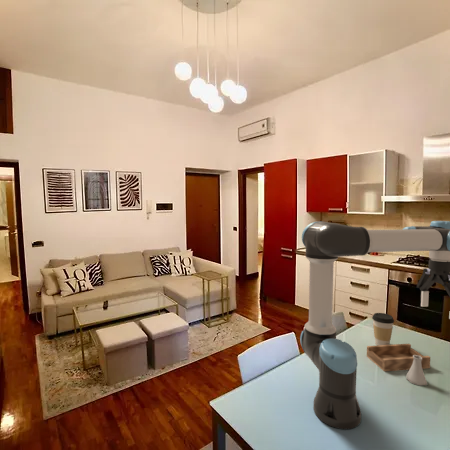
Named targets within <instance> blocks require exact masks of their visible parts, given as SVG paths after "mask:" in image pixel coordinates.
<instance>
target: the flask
mask: <svg viewBox="0 0 450 450" xmlns="http://www.w3.org/2000/svg"><path fill="white" fill-rule="evenodd" d="M413 358H414V360H413V364H412V366H411V368H410V370H408V371H407V373H406V375H405V378H406V380H407V381H409V382H410V384H413V385H416V386H420V387H421V386H428V381H427V379H426V376H425V373H424V369H422V365H421V360H422V357H421V356H418V355H413Z"/></svg>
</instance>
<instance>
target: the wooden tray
mask: <svg viewBox="0 0 450 450" xmlns="http://www.w3.org/2000/svg"><path fill="white" fill-rule="evenodd" d="M413 355H418V356H421V357H422V360H421V365H422V369H423V370H426V369H431V356H429V355H423V354H421V353H420V352H418V351H416V350H415V349H414V348H412V344H410V343H400V344H399V343H398V344H397V343H396V344H389V345H367V346H366V358H368V359H369V360H370V361H371V362H372V363H374V364H375V365H376V366H377V367H378V368H379V369H380V370H382V371H383V372H395V371H396V372H397V371H409V370H410V368H411V366H412V364H413V360H414V358H413Z"/></svg>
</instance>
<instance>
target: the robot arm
mask: <svg viewBox="0 0 450 450" xmlns="http://www.w3.org/2000/svg"><path fill="white" fill-rule="evenodd" d="M301 241H302V244H303V246H304V247H305V258H306V259H307V260H308V262H309V280H308V281H309V283H308V284H309V285H308V294H309V295H308V321H307V322H306V323H305V324H304V328H303V330H302V331H301V333H300V336H299V339H300V345H301V348H302V350H303V352H304V353H305V355H306V356H307V357H308V359H310V360H311V362H312V363H313V364H314V366H315V368H316V369H318V372H319V374H318V375H319V378H318V382H319V383H318V385H319V386H318V389H317V391H316V394H315V396H314V399H313V407H312V408H313V412H314V414H315V416H316V417H317V418H318V419H319V420H320V421H322V422H323V423H324V424H326V425H328V426H329V427H333V428H335V429H339V430H351V429H355V428H357V427H358V426H359V425H360V423H361V420H362V413H361V412H362V411H361V407H360V404H359V401H358V398H357V370H358V369H357V367H358V359H357V353H356V350H355V348H354V347H353V346H352V345H351V344H349V343H348V342H346V341H343V340H341V339H339V338H337V328H336V326H335V325H334V324H333V306H334V305H333V299H334V298H333V297H334V294H333V293H334V263H335V262H336V261H337V260H338V259H339V258H341V257H342V258H343V257H358V256H359V257H361V256H366V255H367V254H369V253H389V252H390V253H391V252H392V253H393V252H394V253H395V252H396V253H397V252H427V251H428V252H429V253H428V259H429V260H428V268H423V269H422V275H421V276H420V278H419V281H418V282H417V284H416V288H417V289H419V290H420V307H422V308H423V307H426V308H427V307H429V298H430V297H429V296H430V295H429V293H430V291H429V289H430V288H431V287H432V286H433V285H434V284H435V283H438V284H439V285H441V286H442V287H443V288H444V290H445V291H446V293H447V294H448V296H449V297H450V221H449V220H433V221H432V220H431V222H430V224H429V225H427V226H422V225H421V226H419V225H418V226H417V225H416V226H415V225H412V226H405V227H403V228H402V229H400V228H399V229H368V228H366V227H364V226H352V225H347V224H346V225H345V224H340V223H336V222H327V221H320V220H319V221H313V222H311V223H309V224H307V225H306V226H305V228H304V229H303V231H302V233H301ZM448 319H449V320H450V312H449V315H448Z"/></svg>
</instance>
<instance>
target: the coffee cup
mask: <svg viewBox="0 0 450 450" xmlns="http://www.w3.org/2000/svg"><path fill="white" fill-rule="evenodd" d="M371 319H372V320H373V323H372V325H373V336H374V343H375V346H377V345H391V344H390V343H391V339H392V333H393V328H394V327H393V326H394V323H395V319H394V317H393V316H392V315H391V314H387V313H386V312H385V313H384V312H375V313H373V315H372V316H371Z"/></svg>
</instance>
